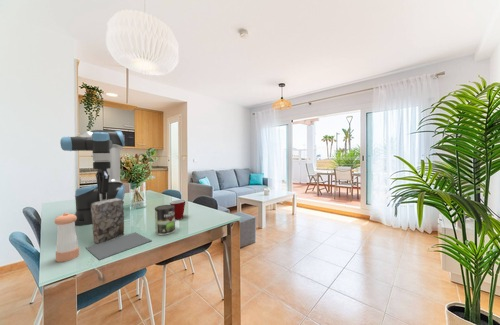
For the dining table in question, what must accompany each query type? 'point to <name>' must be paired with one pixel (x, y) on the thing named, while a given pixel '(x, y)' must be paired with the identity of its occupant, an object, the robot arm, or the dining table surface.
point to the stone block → (107, 219)
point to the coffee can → (165, 219)
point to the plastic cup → (178, 208)
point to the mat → (117, 245)
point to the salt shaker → (66, 238)
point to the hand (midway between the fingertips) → (103, 205)
